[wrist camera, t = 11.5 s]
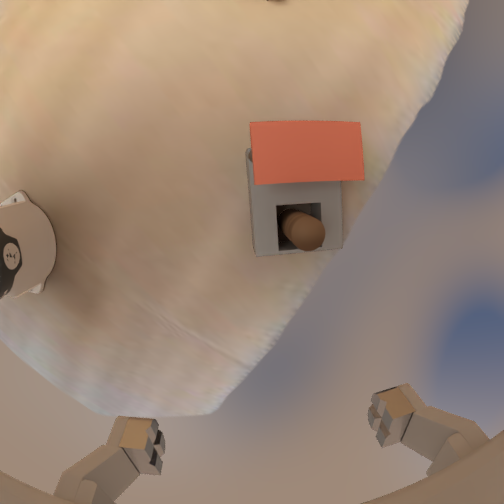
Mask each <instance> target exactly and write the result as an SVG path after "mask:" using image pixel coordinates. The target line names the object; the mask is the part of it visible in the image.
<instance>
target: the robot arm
mask: <svg viewBox="0 0 504 504" xmlns="http://www.w3.org/2000/svg"><path fill="white" fill-rule="evenodd" d="M16 199H17V202H16ZM55 258H56V240H55V235H54V231H53V228H52V226H51V223H50V221H49V219H48V218H47V216H46V215H45V213H44V212H43V211H42V210H41V209H40V208H39V207H37V206H36V205H34V204H33V203H32V202H31V201H30V200H29V198H28V197H27V195H26V194H25V192H24V191H19V192H16V193H15V194H13V195H12V196H11V197H9V198H8V199H6V200H5V201H3V202H2V203H0V299H1V298H3V297H4V296H5V295H7V297H13V298H17V297H19V296H20V295H22V294H24V293H26V292H27V291H28V292H32V293H36V294H38V293H40V292H42V291H43V288H44V283H45V279H46V278H47V276H48V275H49V274H50V272H51V270H52V268H53V266H54V263H55ZM371 401H372V403H373V404H372V405H371V406H370V407H369V410H368V421H369V424H370V426H371V428H372V429H373V430H375V431H377V434H376V438H377V440H378V442H379V444H380V445H381V447H382V448H383V447H386V446H390V445H393V444H396V443H398V442H401V443H402V444H404V445H405V446H407V447H409V448H410V449H412V450H414V451H415V452H417V453H419V454H420V455H422V456H424V457H426V458H428V459H429V460H431V461H433V463H432V464H431V466H430V467H429V468H428V470H427V472H426V474H427V476H428V477H426V478H424V479H422V480H420V481H418V482H416V483H413V484H411V485H409V486H407V487H404V488H402V489H399V490H397V491H395V492H392V493H390V494H387V495H384V496H382V497H379V498H376V499H373V500H370V501H367V502H364V503H361V504H504V430H503V431H501V432H500V433H499V434H497V435H496V436H495V437H493V438H492V439H489V438H488V437H487V436H486V434H485V433H484V432H483V431H482V430H481V428H480V427H479V426H478V425H477V424H476V422H474V421H472V420H469V419H466V418H462V417H460V416H457V415H454V414H451V413H448V412H445V411H443V410H440V409H437V408H435V407H432V406H428V407H427V406H426V405H425V403H424V402H423V401H422V400H421V398H420V397H419V396H418V395H417V393H416V392H415V391H414V389H413V388H412V387H411V386H410V385H409V384H408V383H405V384H403V385H399V386H396V387H393V388H390V389H386V390H383V391H380V392H377V393H374V394H373V395H372V398H371ZM158 426H159V424H158V422H157V420H156V419H149V418H137V417H126V416H118V417H117V418H116V420H115V422H114V425H113V427H112V430H111V433H110V435H109V438H108V440H107V443H106V445H101V446H100V447H99V448H97V449H96V450H94V451H93V452H92V453H90V454H89V455H87V456H86V457H84V458H83V459H81V460H80V461H78V462H77V463H76V464H74V465H73V466H71V467H70V468H68V469H67V470H65V471H64V472H63V473H62V475H61V477H60V480H59V482H58V485H57V487H56V490H55V492H54V495H51V494H49V493H46V492H44V491H41V490H39V489H37V488H34V487H32V486H30V485H28V484H26V483H23V482H21V481H19V480H17V479H15V478H13V477H11V476H9V475H7V474H6V473H4V472H2V471H0V504H116V503H115V502H114V501H115V500H116V499H117V498H118V497H119V496H120V495H121V494H122V493H123V492H124V491H125V490H126V489H127V488H128V487H129V486H130V485H131V484H132V483H133V482H134V480H135V479H136V478H137V477H138V476H139V475H140V474H149V475H161V469H162V463H163V462H162V460H161V458H160V457H161V456H162V455H163V454H164V453H165V439H164V435H163V433H162V432H161V431H160V430H158Z"/></svg>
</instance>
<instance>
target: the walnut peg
mask: <svg viewBox="0 0 504 504" xmlns="http://www.w3.org/2000/svg"><path fill="white" fill-rule="evenodd" d="M278 227H279V229H280V230H281V231H282V232H283V233H284V234H285V235H286V236H287V237H288V238H289V239H290V240H291V241H292V243H293V244H294V245H295V246H296V247H297V248H299V249H300V250H303V251H313V250H316V249H317V248H319V247H320V246H321V245H322V243H323V242H324V239H325V228H324V225H323V224H322V222H321V221H319V220H318V219H316V218H314V217H312V216H310V215H308V214H305V213H303V212H301V211H299V210H297V209H294V208H289V209H286V210H284V211H282V212H281V214H280V215H279V217H278Z"/></svg>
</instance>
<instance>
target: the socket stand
mask: <svg viewBox="0 0 504 504" xmlns="http://www.w3.org/2000/svg"><path fill="white" fill-rule="evenodd" d="M250 136H251V148H248V149H247V151H246V163H247V176H248V188H249V201H250V213H251V226H252V238H253V248H254V252H255V255H256V257H260V256H270V255H281V254H291V253H301V252H311V251H303V250H300V249H299V248H297V247H296V246H295V245H294V244H293V243H292V241H285V242H278V231H277V215H276V205H289V204H304V203H311V216H312V217H314V218H316V219H318V220H319V221H321V222H322V224H323V225H324V228H325V239H324V242H323V243H322V245H321V246H320V247H319V248H317V249H316V250H313V251H322V250H332V249H342V248H343V232H342V193H341V181H347V180H364V163H363V149H362V137H361V127H360V122H342V121H266V122H250Z"/></svg>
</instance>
